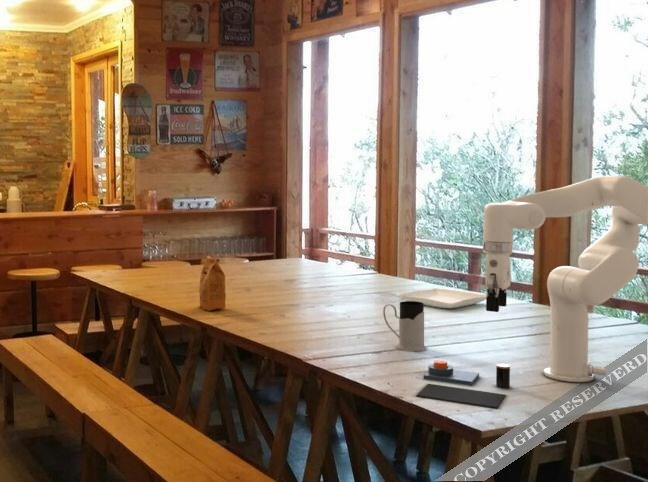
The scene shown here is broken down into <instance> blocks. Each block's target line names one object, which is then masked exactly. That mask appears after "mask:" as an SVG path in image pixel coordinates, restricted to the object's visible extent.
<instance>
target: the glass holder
mask: <svg viewBox="0 0 648 482" xmlns="http://www.w3.org/2000/svg"><path fill="white" fill-rule="evenodd" d="M388 306H390V307H392V308H393V310H394V316H395V318H396V319H398V328H399V329H398V333H399V334H398V333H397V332H396V331H395V330H394V329H393V328H392V327H391V326H390V323H389V322H388V320H387V317H386V308H387V307H388ZM424 307H425V305H424V303H422V302H416V301H404V300H402V301H400V302H399V316H398V315H397V309H396V306H395V305H394V304H391V303H389V304H386V305H384V307H383V310H382V313H383V319H384V322H385V324H386V326H387V327H388V328H389V329H390V330H391V332H392V333H394V335H395V336H396V337H397V338H398V346H397V349H399V350H400V351H401V350H402V351H408V352H423V351H425V350H426V349H427V348H426V346H425V310H424V309H425V308H424Z"/></svg>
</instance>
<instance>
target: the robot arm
mask: <svg viewBox="0 0 648 482" xmlns="http://www.w3.org/2000/svg"><path fill="white" fill-rule="evenodd" d="M606 206H607V207H608V206H610V207H611V208H610V209H611V210H610V212H611V213H610V214H611V215H610V216H611V223H610V226H609V229H608V230H607V231H606V232H605V233H604V234H603V235H602V236H600V237H599V238H597V240H595V241H594V242H593V243H592V244H591V245H589V246H588V247H586V249H584V250H583V251H582V253H581V254H580V255H579V257H578V262H577V263H578V267H576V266H569V265H562V266H561V265H560V266H558V267H556V268H554V269H552V270H551V272H549V274H548V276H547V279H546V287H547V293H548V298H549V305H550V306H549V307H550V331H549V333H550V336H549V338H550V339H549V340H550V342H549V367H545V368H544V369H543V374H544V375H545V377H547V378H550V379H553V380H556V381H561V382H567V383H568V382H569V383H587V382H592V381H593V380H594V379H595V375H598V376H606V375H607V368H603V367H602V366H595V365H593V364H591V361H590V360H588V359H589V357H588V356H589V313H588V308H587V306H599V305H602V304H604V303H606V302H607V301H608V300H609V299H611V298H613V296H614V295H616V294H617V293H618V292H619V291H621V290H622V289H623V288H624V287H625V286H626V285H628V284H629V283H630V282H631V281H632V280H633V279H634V278H635V276H636V275H637V274H638V270H639V266H640V264H639V263H640V262H639V259H638V256H637V254H636V253H635V252H634V251H636V249H637V248H638V245H639V243H640V227H639V226H640V225H642V226H643V225H644V226H648V186H647V185H645V184H643V183H641V181H638V180H636V179H634V178H631V177H629V176H624V175H599V176H595V177H591V178H588V179H585V180H581V181H578V182H576V183H572V184H569V185H566V186H562V187H558V188H553V189H547V190H543V191H537V192H534V193H529V194H525V195H522V196H518V197H515V198H512V199H509V200H506V201H504V202H492V203H487V204H485V206H484V208H483V237H482V238H483V239H482V253H484V254H486V258H485V282H484V283H485V287H486V295H487V296H486V300H485V310H486V312H492V313H493V312H494V313H499V312H500V307H507V298H508V297H507V294H508V293H507V289H508V288H510V286H511V279H512V277H511V255H512V254H513V249H514V248H513V243H514V229H517V230H525V231H532V230H533V231H534V230H536V229H538V228H541V226H542V225H544V223H545V221H546V218H567V217H574V216H577V215H580V214H583V213H586V212H590V211H593V210H596V209H600V208H602V207H606Z"/></svg>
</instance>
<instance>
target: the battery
mask: <svg viewBox="0 0 648 482" xmlns="http://www.w3.org/2000/svg"><path fill="white" fill-rule="evenodd" d="M495 367H496V369H495V370H496V371H495V372H496V373H495V386H496V388H498V389H502V390H503V389H504V390H505V389H507V390H508V389H510V388H511V365H510V364H507V363H497V364H496V366H495Z"/></svg>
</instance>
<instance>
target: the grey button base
mask: <svg viewBox="0 0 648 482" xmlns="http://www.w3.org/2000/svg"><path fill="white" fill-rule="evenodd" d="M427 367H428V371H427V372H425V374H423V380H428V381H436V382H442V383H443V382H444V383H449V384H456V385H463V386H465V385H466V386H470V387H471V386H473V385H474V384H475V382H476V381H477V380H478V379H479V378H480V373H479V372H474V371H466V370H458V369H454V367H453V366H452V365H450V364H447V368H445V369H441V368H435V367H434V363H429V365H428V366H427Z"/></svg>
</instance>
